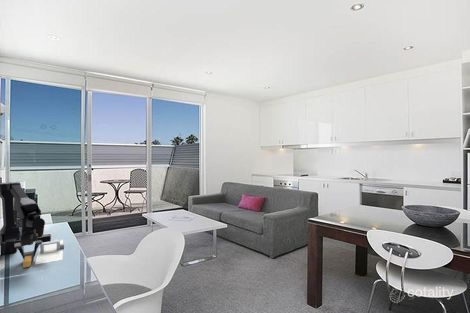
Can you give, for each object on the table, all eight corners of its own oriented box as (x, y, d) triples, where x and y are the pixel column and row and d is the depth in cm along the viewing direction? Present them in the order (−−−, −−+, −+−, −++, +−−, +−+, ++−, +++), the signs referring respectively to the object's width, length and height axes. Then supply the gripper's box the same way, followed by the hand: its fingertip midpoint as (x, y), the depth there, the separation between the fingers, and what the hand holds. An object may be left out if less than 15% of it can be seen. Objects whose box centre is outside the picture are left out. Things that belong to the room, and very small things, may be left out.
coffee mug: (47, 236, 178) (47, 221, 178) (32, 239, 171) (32, 224, 171) (39, 233, 184) (39, 219, 184) (24, 236, 177) (24, 222, 177)
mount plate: (34, 265, 131) (34, 264, 131) (41, 243, 163) (41, 242, 163) (62, 260, 137) (62, 259, 137) (63, 240, 169) (63, 239, 169)
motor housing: (40, 253, 146) (40, 244, 146) (41, 250, 150) (40, 242, 150) (63, 249, 152) (63, 241, 152) (64, 246, 156) (63, 238, 156)
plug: (21, 268, 125) (20, 261, 125) (24, 258, 138) (24, 251, 137) (31, 266, 128) (31, 259, 127) (34, 256, 140) (34, 249, 140)
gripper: (1, 234, 124) (1, 267, 124) (49, 228, 134) (50, 258, 134) (5, 228, 133) (6, 259, 134) (50, 223, 143) (51, 251, 144)
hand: (29, 257), depth 136 cm, fingers closed on plug, 4 cm apart
